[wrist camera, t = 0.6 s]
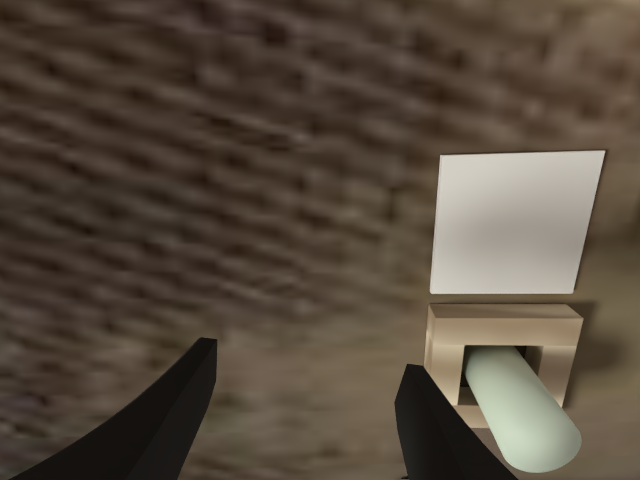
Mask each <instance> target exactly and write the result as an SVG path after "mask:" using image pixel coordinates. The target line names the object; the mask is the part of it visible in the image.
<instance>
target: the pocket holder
mask: <svg viewBox="0 0 640 480" xmlns="http://www.w3.org/2000/svg"><path fill="white" fill-rule="evenodd" d="M582 323H583V318H582V317H581V316H580V315H579V314H577V313H576V312H575V311H574V310H572V309H571V308H570V307H569V306H568V305H566V304H429V309H428V321H427V334H426V347H425V360H424V368H425V369H426V371H427V372H428V373H429V375H430V376H431V378H432V379H433V380H434V382H435V383H436V385H437V386H438V387H439V389H440V390H441V391H442V393H443V394H444V395H445V397H446V398H447V400H448V401H449V402H450V404H451V405H452V406H453V407H454V409H455V410H456V411H457V413H458V414H459V415H460V416H461V418H462V419H463V420H464V421H465V423H466V424H467V425H468V426H469V427H470V428H490V427H489V425H488V423H487V421H486V419H485V417H484V415H483V413H482V410H481V408H480V406H479V404H478V402H477V400H476V398H475V396H474V394H473V392H472V390H471V388H470V387H460V378H461V370H462V362H463V353H464V345H527V347H526V352H525V358H524V360H525V361H526V362H527V363H528V365H529V366H530V367H531V369H532V370H533V371H534V373H535V374H536V375H537V376H538V378H539V379H540V380H541V382H542V383H543V384H544V386H545V387H546V388H547V390H548V391H549V392H550V393H551V395H552V396H553V397H554V399H555V400H556V401H557V403H558V404H559V405H560V407H561V408H562V404H563V400H564V396H565V392H566V388H567V384H568V380H569V376H570V372H571V368H572V364H573V360H574V356H575V352H576V348H577V344H578V339H579V335H580V331H581V327H582Z"/></svg>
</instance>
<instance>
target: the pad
mask: <svg viewBox="0 0 640 480" xmlns="http://www.w3.org/2000/svg"><path fill="white" fill-rule="evenodd" d="M604 154H605V151H602V150H592V151H558V152H524V153H490V154H456V155H440V166H439V179H438V192H437V205H436V218H435V231H434V244H433V257H432V270H431V283H430V292H431V294H573V290H574V285H575V281H576V277H577V272H578V268H579V264H580V259H581V255H582V250H583V246H584V242H585V237H586V233H587V229H588V224H589V220H590V216H591V211H592V207H593V202H594V198H595V194H596V189H597V185H598V181H599V176H600V172H601V167H602V163H603V159H604Z"/></svg>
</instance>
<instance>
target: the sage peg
mask: <svg viewBox="0 0 640 480" xmlns="http://www.w3.org/2000/svg"><path fill="white" fill-rule="evenodd" d="M462 371H463V373H464V375H465V377H466V379H467V381H468V384H469V386H470V388H471V390H472V392H473V394H474V396H475V398H476V400H477V402H478V404H479V406H480V408H481V410H482V413H483V415H484V417H485V419H486V421H487V423H488V425H489V427H490V429H491V431H492V433H493V435H494V437H495V439H496V442H497V444H498V446H499V448H500V450H501V452H502V454H503V456H504V458H505V459H506V461H507V462H508V463H509V464H510V465H512V466H513V467H515V468H517V469H519V470H522V471H526V472H534V473H539V472H547V471H551V470H555V469H557V468H560V467H562V466H564V465H565V464H567V463H568V462H570V461H571V460H572V459H573V458H574V457H575V456H576V454H577V453H578V451H579V449H580V447H581V435H580V432H579V430H578V429H577V427H576V426H575V425H574V423H573V422H572V421H571V420H570V418H569V417H568V416H567V414H566V413H565V412H564V410H563V409H562V408H561V407H560V405H559V404H558V403H557V401H556V400H555V399H554V397H553V396H552V395H551V393H550V392H549V391H548V390H547V388H546V387H545V386H544V384H543V383H542V382H541V380H540V379H539V378H538V376H537V375H536V374H535V373H534V371H533V370H532V369H531V367H530V366H529V365H528V363H527V362H526V361H525V360H524V358H523V357H522V356H521V354H520V353H519V352H518V350H517V349H516V348H515V346H514V345H466V346H465V347H464V353H463V362H462Z"/></svg>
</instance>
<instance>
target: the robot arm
mask: <svg viewBox="0 0 640 480" xmlns="http://www.w3.org/2000/svg"><path fill="white" fill-rule="evenodd" d="M216 367H217V339H210V338H202V337H201V338H199V339H198V340H197V341H196V342H195V343H194V344H193V345H192V346H191V347H190V348H189V349H188V350H187V351H186V352H185V354H184V355H183V356H182V357H181V358H180V359H179V360H178V361H177V362H176V363H175V364H174V365H172V366H171V367H170V368H169V369H168V370H167V371H166V372H165V373H164V374H163V375H162V376H161V377H160V378H159V379H158V380H157V381H155V382H154V383H153V384H152V385H151V386H150V387H148V388H147V389H146V390H145V391H144V392H143V393H142V394H140V395H139V396H138V397H137V398H136V399H134V400H133V401H132V402H131V403H129V404H128V405H127V406H126V407H124V408H123V409H122V410H120V411H119V412H118V413H116V414H115V415H114V416H112V417H111V418H110V419H108V420H107V421H105V422H104V423H103V424H101V425H100V426H98V427H97V428H95V429H94V430H92V431H91V432H89V433H88V434H87V435H85V436H83V437H82V438H80V439H79V440H77V441H76V442H74V443H73V444H71V445H69V446H68V447H66V448H64V449H63V450H61V451H59V452H58V453H56V454H54V455H52V456H51V457H49V458H47V459H46V460H44V461H42V462H41V463H39V464H37V465H35V466H34V467H32V468H30V469H28V470H26V471H24V472H22V473H20V474H19V475H17V476H15V477H13V478H11V479H9V480H177V478H178V476H179V473H180V471H181V468H182V466H183V464H184V461H185V459H186V457H187V454H188V452H189V450H190V447H191V445H192V443H193V441H194V438H195V436H196V434H197V431H198V429H199V427H200V424H201V422H202V420H203V417H204V415H205V413H206V410H207V408H208V405H209V402H210V399H211V395H212V392H213V389H214V385H215V382H216ZM395 412H396V421H397V429H398V434H399V439H400V443H401V448H402V452H403V456H404V461H405V465H406V469H407V474H408V478H409V479H402V480H518V479H517V478H516V477H515V476H514V475H513V474H512V473H511V472H510V471H509V470H508V469H507V468H506V467H505V466H504V465H503V464H502V463H501V462H500V461H499V460H498V459H497V458H496V457H495V456H494V455H493V454H492V452H491V451H490V450H489V449H488V448H487V447H486V446H485V445H484V444H483V443H482V442H481V440H480V439H479V438H478V437H477V436H476V435H475V433H474V432H473V431H472V430H471V429H470V427H469V426H468V425H467V424H466V423H465V421H464V420H463V419H462V418H461V416H460V415H459V414H458V413H457V411H456V410H455V409H454V407H453V406H452V405H451V404H450V402H449V401H448V400H447V398H446V397H445V395H444V394H443V393H442V391H441V390H440V389H439V387H438V386H437V385H436V383H435V382H434V380H433V379H432V378H431V376H430V375H429V373H428V372H427V371H426V369H425V368H424V367H423V366H420V365H413V364H407V366H406V369H405V372H404V375H403V378H402V381H401V384H400V387H399V390H398V393H397V396H396V399H395Z"/></svg>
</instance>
